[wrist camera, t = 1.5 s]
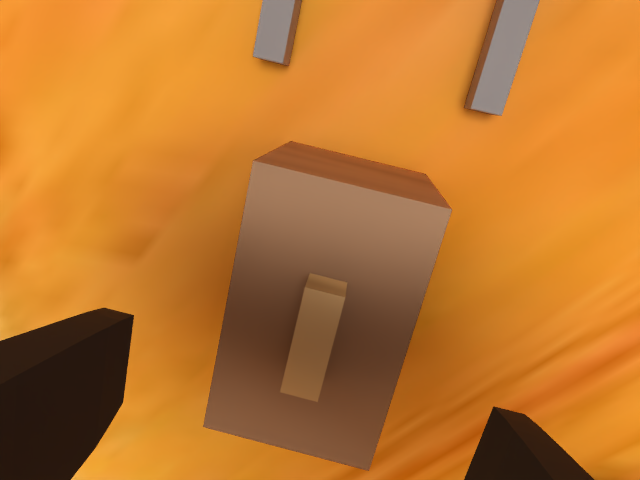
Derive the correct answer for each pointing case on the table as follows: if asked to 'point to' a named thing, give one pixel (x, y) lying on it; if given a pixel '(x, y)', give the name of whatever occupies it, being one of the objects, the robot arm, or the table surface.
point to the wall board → (492, 67)
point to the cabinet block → (323, 301)
